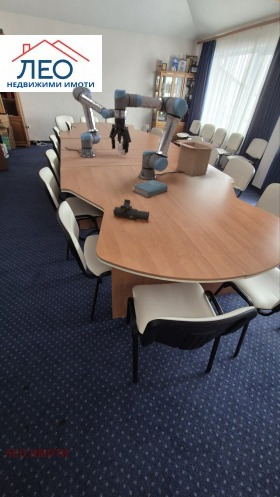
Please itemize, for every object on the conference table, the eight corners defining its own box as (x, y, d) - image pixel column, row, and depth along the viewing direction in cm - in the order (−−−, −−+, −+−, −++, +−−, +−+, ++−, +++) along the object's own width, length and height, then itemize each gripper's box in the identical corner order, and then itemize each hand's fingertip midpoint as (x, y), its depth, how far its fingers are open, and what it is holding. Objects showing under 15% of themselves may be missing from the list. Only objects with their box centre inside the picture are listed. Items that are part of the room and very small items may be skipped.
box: (218, 176, 220) (226, 147, 204) (190, 180, 206) (196, 149, 190) (191, 164, 250) (196, 137, 234) (164, 166, 236) (168, 138, 220)
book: (152, 185, 190) (153, 179, 187) (167, 191, 181) (167, 185, 178) (133, 191, 176) (133, 185, 173) (147, 198, 167) (148, 191, 164)
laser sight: (146, 224, 135) (147, 209, 129) (111, 219, 138) (111, 204, 132) (149, 217, 143) (150, 203, 137) (115, 212, 146) (115, 198, 140)
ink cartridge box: (123, 153, 252) (123, 139, 243) (126, 155, 250) (126, 140, 241) (117, 154, 247) (117, 140, 238) (120, 156, 245) (120, 141, 236)
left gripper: (113, 124, 233) (114, 147, 247) (125, 126, 224) (125, 151, 237) (119, 123, 238) (119, 146, 251) (130, 126, 228) (130, 150, 242)
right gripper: (103, 115, 154) (104, 147, 167) (129, 120, 141) (128, 155, 154) (111, 114, 159) (112, 146, 172) (137, 119, 146) (135, 153, 159)
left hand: (122, 148), depth 244 cm, fingers closed on ink cartridge box, 5 cm apart
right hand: (119, 150), depth 163 cm, fingers open, 13 cm apart
